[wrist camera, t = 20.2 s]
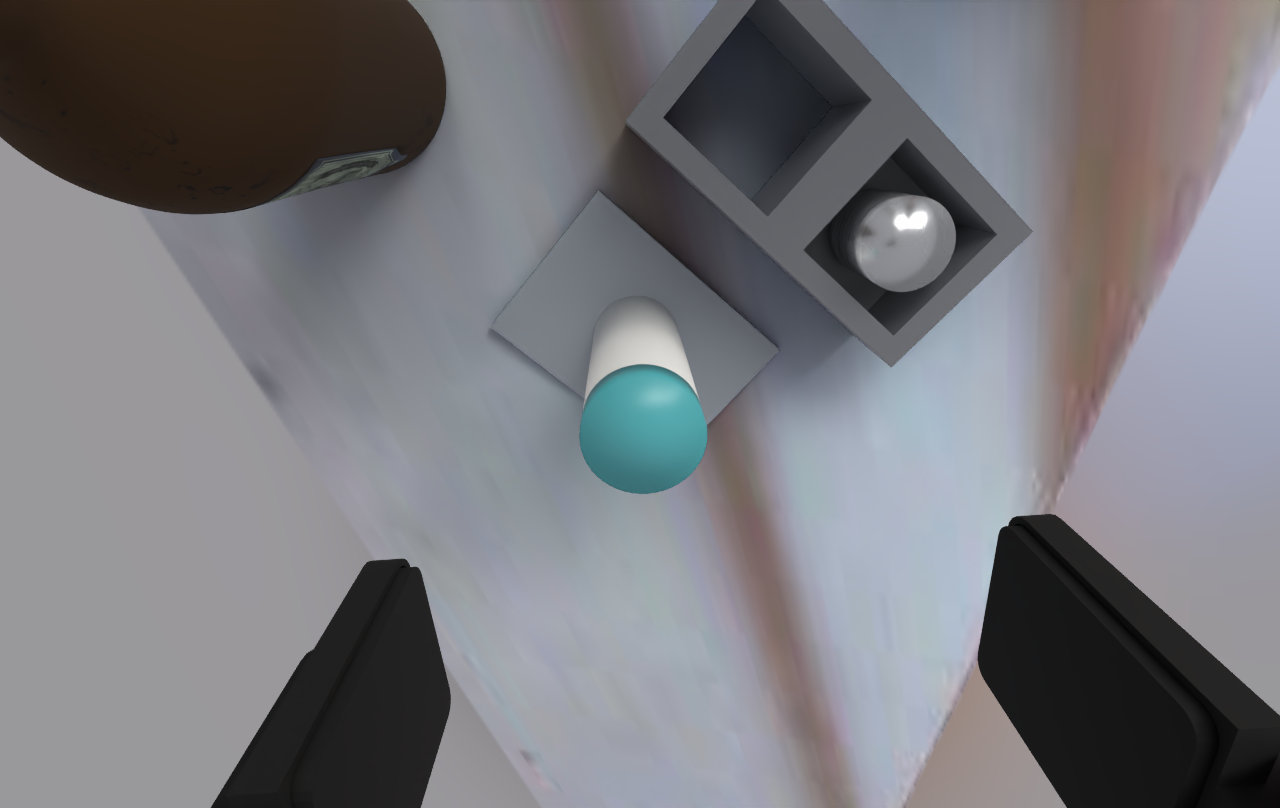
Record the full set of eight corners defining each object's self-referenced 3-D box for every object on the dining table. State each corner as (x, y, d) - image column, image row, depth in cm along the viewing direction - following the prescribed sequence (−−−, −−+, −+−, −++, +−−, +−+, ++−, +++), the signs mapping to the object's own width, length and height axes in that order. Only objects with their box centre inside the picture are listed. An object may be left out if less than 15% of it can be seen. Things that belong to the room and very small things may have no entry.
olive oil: (223, -35, 32) (-876, -519, 9) (439, -51, 32) (-79, -585, 8) (282, 193, 36) (-361, 284, 12) (474, 179, 36) (186, 245, 12)
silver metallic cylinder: (813, 236, 35) (841, 250, 30) (874, 170, 34) (913, 175, 29) (868, 289, 36) (903, 310, 32) (929, 227, 35) (975, 239, 30)
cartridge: (589, 299, 37) (572, 383, 25) (675, 292, 37) (704, 372, 24) (598, 380, 39) (587, 498, 26) (680, 374, 39) (709, 488, 26)
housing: (625, 124, 35) (625, 120, 29) (742, -26, 32) (766, -62, 27) (853, 335, 39) (891, 367, 34) (971, 218, 37) (1033, 231, 31)
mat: (492, 324, 39) (490, 326, 38) (598, 189, 36) (598, 190, 35) (668, 460, 42) (669, 464, 42) (777, 347, 39) (780, 350, 39)
